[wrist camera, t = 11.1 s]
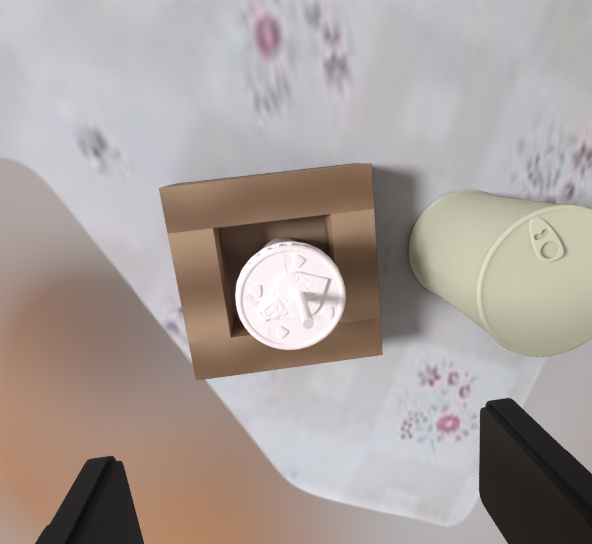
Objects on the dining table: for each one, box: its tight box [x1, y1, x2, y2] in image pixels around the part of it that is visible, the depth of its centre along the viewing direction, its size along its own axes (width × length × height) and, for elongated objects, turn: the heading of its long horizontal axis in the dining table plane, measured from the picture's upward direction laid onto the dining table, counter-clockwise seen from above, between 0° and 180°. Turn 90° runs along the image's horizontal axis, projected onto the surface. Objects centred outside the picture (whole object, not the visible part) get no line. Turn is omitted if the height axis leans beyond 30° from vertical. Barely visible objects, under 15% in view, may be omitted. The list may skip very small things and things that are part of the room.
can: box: [408, 190, 592, 357], centre depth 29 cm, size 9×9×12 cm
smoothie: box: [235, 237, 346, 350], centre depth 26 cm, size 6×6×14 cm
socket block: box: [159, 163, 383, 380], centre depth 31 cm, size 14×14×5 cm
